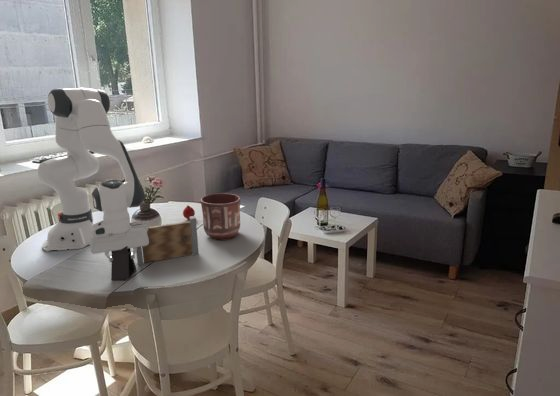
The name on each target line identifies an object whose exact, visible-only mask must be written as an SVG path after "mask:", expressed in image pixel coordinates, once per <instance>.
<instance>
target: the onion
mask: <svg viewBox="0 0 560 396" xmlns="http://www.w3.org/2000/svg"><path fill="white" fill-rule="evenodd" d="M195 214H196V211H195V210H194V208H193V207H191V206H190V205H189V204H186V207H185V208H184V209H183V210H182V216H183V217H184V219H186V220H187V221H190V216H195Z"/></svg>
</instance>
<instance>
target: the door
mask: <svg viewBox="0 0 560 396" xmlns="http://www.w3.org/2000/svg"><path fill="white" fill-rule="evenodd" d="M147 235H148V239H149V244H148V245H147V246H141V248H142V256H143V264H145V263H150V262H156V261H161V260H167V259H173V258H178V257H180V258H181V257H185V256H191V255H193V251H192V239H191V227H190V220H187V221H181V222H174V223H168V224H160V225H154V226H148V231H147Z"/></svg>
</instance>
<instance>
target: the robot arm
mask: <svg viewBox="0 0 560 396" xmlns="http://www.w3.org/2000/svg"><path fill="white" fill-rule="evenodd" d="M110 101H111V100H110V97H109V95H108V93H107V92H106V91H105V90H102V89H98V88H87V87H77V88H75V87H73V88H72V87H69V88H61V87H59V88H53V89H51V90H50V92H49V93H48V96H47V104H48V108H49V111H50V112H51V113H52V114H53V115H54V116H55V143H56V144H57V145H58V146H59V148H61V149H63V150H66V151H67V152H66V155H64V156H59V157H53V158H50V159H47V160H45V161H42V162H41V163H40V164H39V165H38V168H37V176H38V178H39V179H40V181H41V182H42V183H43V184H45V185H47V186H49V187H50V188H52V189H53V190H54V191H55V192H56V194H57V195H58V198H59V201H60V202H59V203H60V206H61V211H58V213H57V218H58V222H57V223H56V224H55V225H54V226H53V227H51V228H50V229H49V231H48V232H47V238H46V240H45V241H44V242H43V243H42V250H43V249H44V250H46V251H45V252H50V251H49V250H58V251H65V250H66V251H67V249H69V250H77V249H78V250H79V249H84V248H85V247H87V246H89V252H90V253H91V254H92V255H94V254H95V255H96V254H103V253H104V256H106V258H107V259H108V262H109V263H112V261H113V258H112V255H110V252H111V251H116V250H121V249H123V248H124V247H126V246H128V248H130V249H132V251H131V254H130V256H131V259H133V260H134V259H136V251H137V247H141V248H142V246H147V245H148V244H149V239H148V235H147V231H148V227H149V224H148V223H147V222H145V221H137V222H136V221H135V222H134V221H133V222H131V216H130V213H129V211H128V209H129V208H139V207H140V206H141V205H142V204H143V203H144V201H145V199H146V193H145V190H144V188H143V185H142V183H141V180H140V179H139V178H138V177H139V176H138V174H137V172H136V169H135V167H134V164H133V162H132V160H131V157H130V155H129V153H128V152H129V151H127V148H126V146H125V144H124V143H123V142H122V140H120V139H117V138H116V136H115V135H114V133H113V132H112V130H111V125H110V121H109V118H108V112H109V111H110V107H111V102H110ZM93 153H94V154H98V155H103V156H107V157H109V158H112V159H113V160H115V161H116V162H117V163H118V164H119V167H120V170H121V171H122V173H123V174H122V175H123V177H124V180H125V181H124V182H123V181H122V180H119V179H115V178H110V179H106V180H104V181H103V180H102V182H101V183H100V185H99V186H97V187H95V188H94V189H93V190H92V192H91V196H92V203H93V209H95V210H97V211H99V212H100V213H101V212H103V216H102V217H103V218H102V220H101V221H99V222H96V223H94V216H93V210H92V209H91V205H90V200H89V199H90V198H89V194H88V192H87V191H86V190H84V189H83V188H80V187H77V186H76V184H75V183H76V182H75V181H78V180H84V179H86V178H90V177H91V176H93V175H95V174H96V173H97V174H98V172H99V170H100V169H99V168H100V163H99V159H98V157H97V156H96V155H94V154H93ZM128 248H127V249H128ZM44 250H43V251H44Z"/></svg>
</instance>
